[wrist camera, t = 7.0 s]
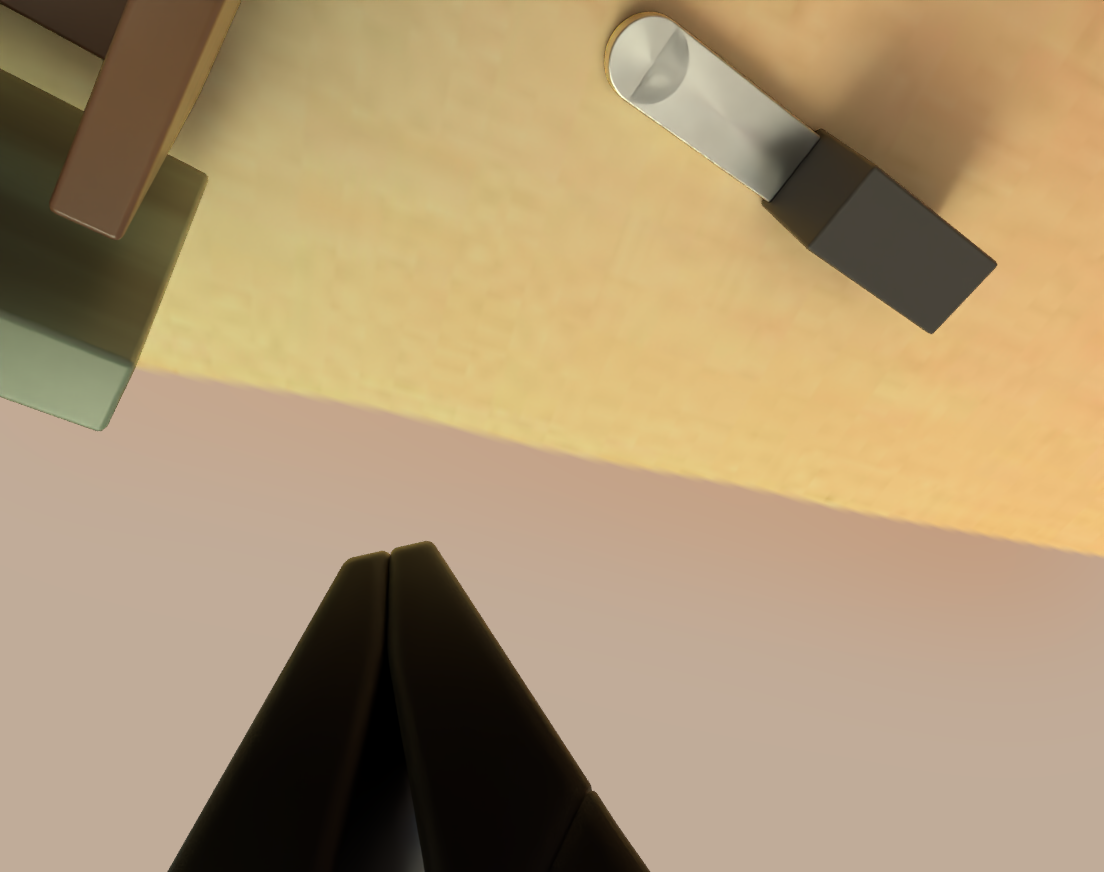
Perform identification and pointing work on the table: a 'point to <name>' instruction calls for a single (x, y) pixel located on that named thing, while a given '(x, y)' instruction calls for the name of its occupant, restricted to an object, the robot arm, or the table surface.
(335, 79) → the table surface
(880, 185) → the dark grey handle block
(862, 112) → the table surface
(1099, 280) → the table surface
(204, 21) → the drawer
